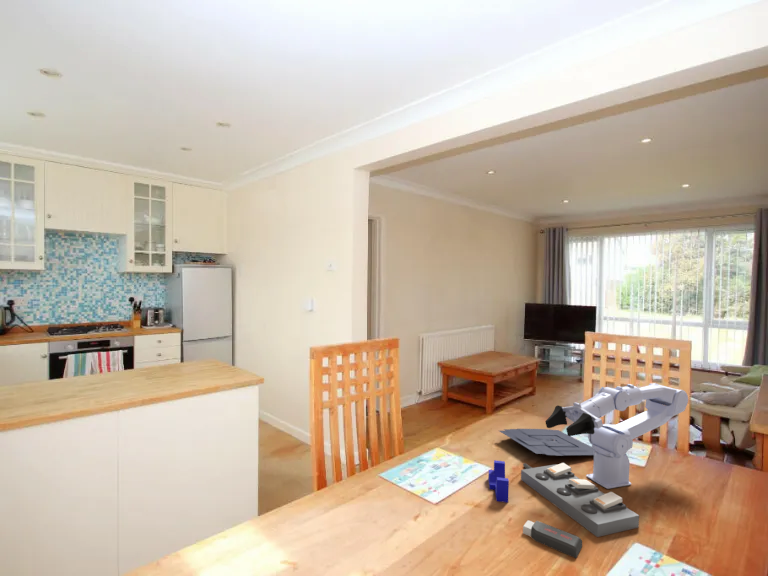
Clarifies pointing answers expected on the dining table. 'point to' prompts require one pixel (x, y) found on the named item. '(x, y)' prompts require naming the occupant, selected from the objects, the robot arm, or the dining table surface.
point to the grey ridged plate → (549, 442)
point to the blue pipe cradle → (499, 481)
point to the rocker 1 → (559, 469)
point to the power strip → (579, 502)
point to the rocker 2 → (607, 500)
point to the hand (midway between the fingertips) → (557, 428)
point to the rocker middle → (581, 483)
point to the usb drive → (553, 538)
